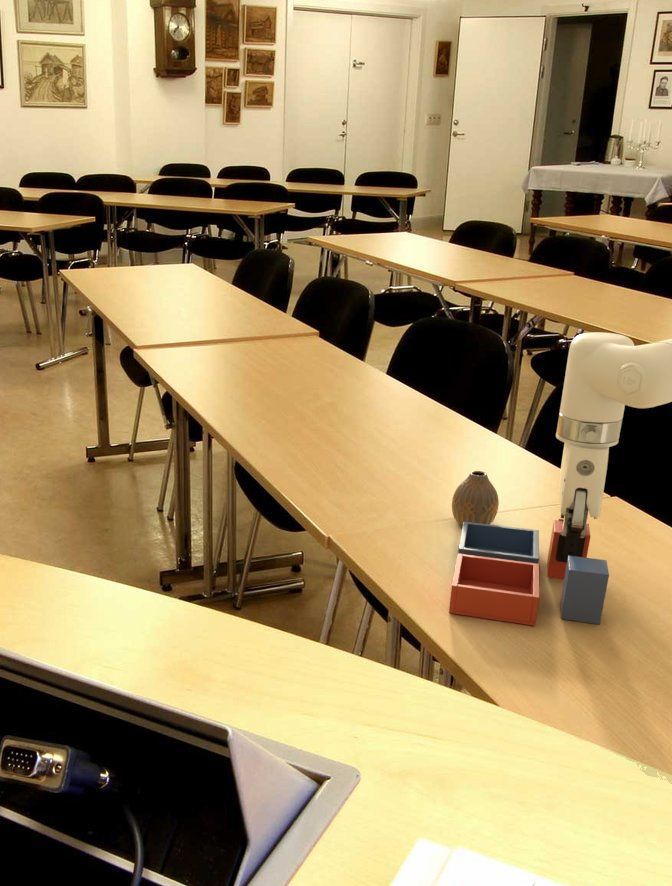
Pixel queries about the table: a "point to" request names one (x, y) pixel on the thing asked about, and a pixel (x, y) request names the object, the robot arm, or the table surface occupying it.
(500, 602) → the red bin
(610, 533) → the table surface
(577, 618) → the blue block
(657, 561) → the table surface
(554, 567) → the red block
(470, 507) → the vase
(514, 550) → the blue bin
